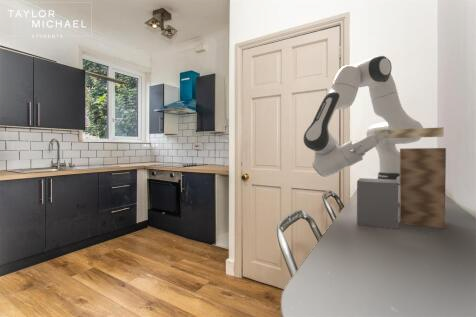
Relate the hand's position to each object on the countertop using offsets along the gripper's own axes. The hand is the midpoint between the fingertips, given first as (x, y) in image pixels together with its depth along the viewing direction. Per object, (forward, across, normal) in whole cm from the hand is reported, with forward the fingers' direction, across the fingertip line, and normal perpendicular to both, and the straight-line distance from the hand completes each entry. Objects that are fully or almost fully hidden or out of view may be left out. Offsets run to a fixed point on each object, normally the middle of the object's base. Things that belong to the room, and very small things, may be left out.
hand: (388, 132), depth 92 cm
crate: (-19, -8, +26) cm, 33 cm away
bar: (+4, 0, +4) cm, 6 cm away
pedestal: (-7, 0, +32) cm, 33 cm away
